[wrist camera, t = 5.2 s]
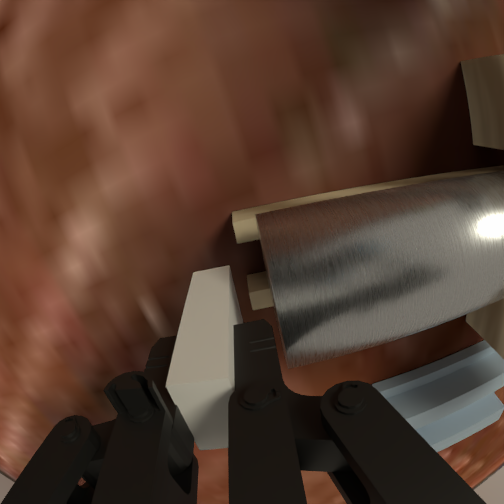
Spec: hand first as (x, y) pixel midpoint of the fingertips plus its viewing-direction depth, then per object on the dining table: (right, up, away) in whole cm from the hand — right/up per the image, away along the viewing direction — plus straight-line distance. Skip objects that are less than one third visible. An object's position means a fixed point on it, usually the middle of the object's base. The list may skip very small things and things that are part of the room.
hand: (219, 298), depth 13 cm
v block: (+18, -11, +9) cm, 23 cm away
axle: (+11, +2, -1) cm, 12 cm away
